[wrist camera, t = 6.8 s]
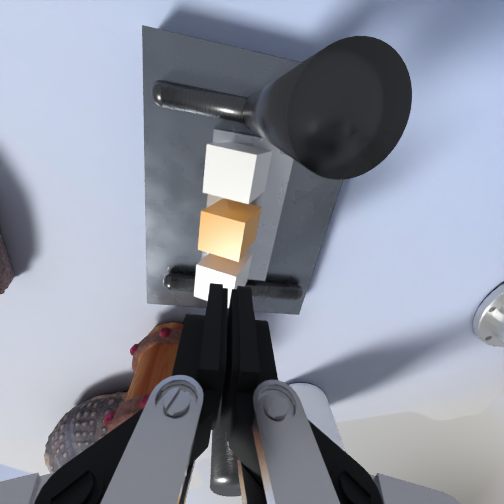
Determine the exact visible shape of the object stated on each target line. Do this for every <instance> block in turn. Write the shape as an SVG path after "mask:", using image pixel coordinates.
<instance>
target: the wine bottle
mask: <svg viewBox="0 0 504 504" xmlns="http://www.w3.org/2000/svg"><path fill="white" fill-rule="evenodd" d="M289 386H290V387H292V389H293V390H294V391H295V392H296V393H297V395H298V397H299V399H300V401H301V403H302V406H303V409H304V411H305V414H306V416H307V419H308V420H309V421H311V422H312V423H313V424H314V425H315V426H316V427H317V428H318V429H320V430H321V431H322V432H323V433H324V434H325V435H326V436H328V437H329V438H330V439H331V440H332V441H333V442H334V443H336V444H337V445H338V446H339V447H340V448H341V449H342V450H344V451H345V448H344V446H343V442H342V440H341V437H340V434H339V431H338V428H337V425H336V423H335V420H334V417H333V414H332V411H331V408H330V406H329V403H328V400H327V397H326V396H325V394H324V393H323V391H322V390H321V389H319V388H318V387H316V386H314V385H312V384H307V383H294V384H289ZM345 452H346V451H345Z"/></svg>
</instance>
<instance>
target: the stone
mask: <svg viewBox="0 0 504 504" xmlns="http://www.w3.org/2000/svg"><path fill="white" fill-rule="evenodd" d="M13 278H14V272H13V270H12V266H11V263H10V260H9V257H8V254H7V252H6V248H5V245H4V242H3V239H2V237H1V233H0V294H3V293H4V291H5V289H7V288H8V286H9V284H10V283H11V282H12V280H13Z"/></svg>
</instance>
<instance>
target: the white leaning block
mask: <svg viewBox="0 0 504 504" xmlns="http://www.w3.org/2000/svg"><path fill="white" fill-rule="evenodd" d="M251 259H252V253H249V252H246V253H245V254H244V256H243V257H242V258H241V260H240V261H239V262H237V261H234V260H230V259H227V258H224V257H220V256H217V255H214V254H211V253H208V254H207V255H206V256H205V257H204V258H203V259H202V260H201V261H200V262H199V263H198V264H196V276H195V287H194V296H195V297H198V298H201V299H203V300H206V301H208V293H209V286H210V283H216V284H223V288H228V308H229V303H230V297H231V291H232V289H237V286H245V284H246V283H247V280H248V275H249V269H250V264H251Z"/></svg>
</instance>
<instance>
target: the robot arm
mask: <svg viewBox="0 0 504 504" xmlns="http://www.w3.org/2000/svg"><path fill="white" fill-rule="evenodd" d="M473 329H474V332H475V334H476V335H477V336H478V337H479V338H480V339H481V340H482V341H483V342H485V343H486V344H488V345H492V346H498V347H504V283H503V284H502V285H500V286H499V287H498V288H496V289H495V290H494V291H493V292H492V293H491V294H490V295H489V296H488V297H487V298H486V299H485V300H484V301H483V302H482V304H481V305H480V306H479V308H478V310H477V312H476V314H475V317H474V319H473ZM220 401H221V413H220V430H226V441H229V448H230V449H231V450H232V452H233V453H234V454H235V455H236V456H237V467H238V474H239V481H240V489H241V496H242V503H243V504H461V503H459V502H458V501H457V500H456V499H455V498H453V497H452V496H450V495H448V494H446V493H444V492H440V491H437V490H434V489H431V488H427V487H424V486H420V485H416V484H413V483H410V482H406V481H403V480H400V479H396V478H393V477H389V476H385V475H383V474H379V473H378V474H377V475H376V476H373V475H370V474H368V472H367V471H366V470H365V469H364V468H363V467H362V466H360V464H358V463H357V462H356V461H355V460H354V459H353V458H352V457H350V456H349V455H348V454H347V453H346V452H345V451H344V450H342V449H341V448H340V447H339V446H338V445H337V444H336V443H334V442H333V441H332V440H331V439H330V438H329V437H328V436H326V435H325V434H324V433H323V432H322V431H321V430H320V429H318V428H317V427H316V426H315V425H314V424H313V423H312V422H311V421H309V420H308V419H307V416H306V414H305V411H304V409H303V406H302V403H301V401H300V399H299V397H298V395H297V393H296V392H295V391H294V390H293V389H292V387H290V386H289V385H287V384H286V383H284V382H281V381H279V380H278V377H277V372H276V366H275V360H274V354H273V348H272V343H271V337H270V331H269V325H268V322H267V321H262V320H255V318H254V309H253V300H252V291H251V287H245V286H237V289H232V291H231V297H230V303H229V309H228V288H223V284H216V283H210V286H209V293H208V301H207V308H206V316H202V315H190V314H186V316H185V320H184V324H183V328H182V333H181V337H180V341H179V346H178V350H177V354H176V359H175V363H174V367H173V371H172V376H170V377H168V378H166V379H164V380H162V381H161V382H160V383H159V384H158V385H156V386H155V388H154V390H153V391H152V393H151V395H150V397H149V399H148V401H147V403H146V405H145V407H144V408H143V409H141V410H140V411H139V412H137V413H136V414H134V415H133V416H132V417H130V418H129V419H127V420H126V421H125V422H123V423H122V424H120V425H119V426H118V427H116V428H115V429H113V430H112V431H111V432H109V433H108V434H106V435H105V436H104V437H102V438H101V439H99V440H98V441H97V442H95V443H94V444H92V445H91V446H90V447H88V448H87V449H85V450H84V451H83V452H81V453H80V454H78V455H77V456H76V457H74V458H73V459H71V460H70V461H69V462H67V463H66V464H64V465H63V466H62V467H61V468H59V469H58V470H57V471H56V472H55V473H51V474H47V475H43V476H39V473H35V474H31V475H27V476H22V477H18V478H14V479H10V480H6V481H2V482H0V504H185V502H186V497H187V493H188V489H189V485H190V481H191V476H192V472H193V468H194V464H195V460H196V459H197V458H198V457H199V456H200V455H201V454H202V453H203V452H204V451H205V449H206V448H207V447H208V444H209V439H210V433H211V430H215V428H216V423H217V417H218V412H219V406H220Z"/></svg>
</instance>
